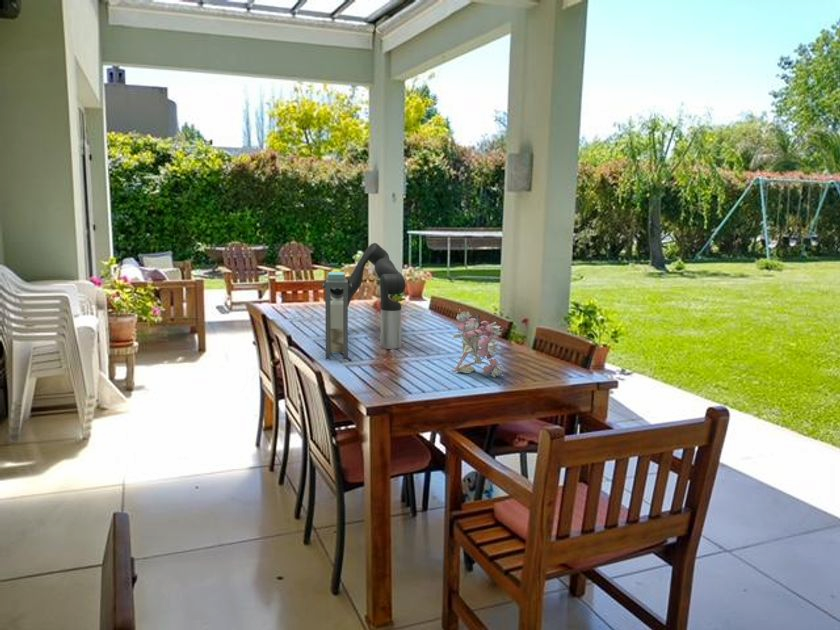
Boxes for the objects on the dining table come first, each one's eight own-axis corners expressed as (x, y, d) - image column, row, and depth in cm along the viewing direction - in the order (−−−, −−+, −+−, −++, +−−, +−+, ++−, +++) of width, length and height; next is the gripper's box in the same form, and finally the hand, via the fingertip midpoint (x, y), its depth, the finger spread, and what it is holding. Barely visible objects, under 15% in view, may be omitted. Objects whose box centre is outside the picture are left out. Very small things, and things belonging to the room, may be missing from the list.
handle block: (344, 282, 299) (344, 269, 298) (344, 288, 278) (344, 274, 277) (329, 282, 298) (329, 269, 297) (328, 288, 277) (328, 274, 276)
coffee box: (465, 348, 294) (466, 313, 292) (479, 349, 293) (480, 314, 290) (462, 353, 285) (463, 316, 283) (476, 353, 284) (477, 317, 281)
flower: (455, 380, 232) (487, 318, 230) (429, 360, 252) (459, 303, 250) (497, 398, 241) (528, 338, 240) (469, 378, 261) (497, 322, 260)
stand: (347, 353, 280) (347, 279, 275) (347, 359, 269) (347, 282, 264) (326, 353, 279) (326, 279, 274) (325, 359, 268) (325, 282, 263)
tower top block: (346, 323, 293) (346, 300, 291) (346, 328, 281) (346, 304, 279) (328, 323, 292) (328, 300, 290) (327, 328, 280) (327, 304, 278)
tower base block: (346, 346, 294) (346, 323, 293) (346, 352, 282) (346, 328, 281) (328, 346, 293) (328, 323, 292) (327, 352, 281) (327, 328, 280)
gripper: (322, 284, 309) (321, 269, 293) (352, 284, 310) (352, 269, 294) (322, 298, 306) (321, 284, 290) (352, 298, 308) (352, 284, 292)
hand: (337, 277), depth 292 cm, fingers closed on handle block, 3 cm apart
